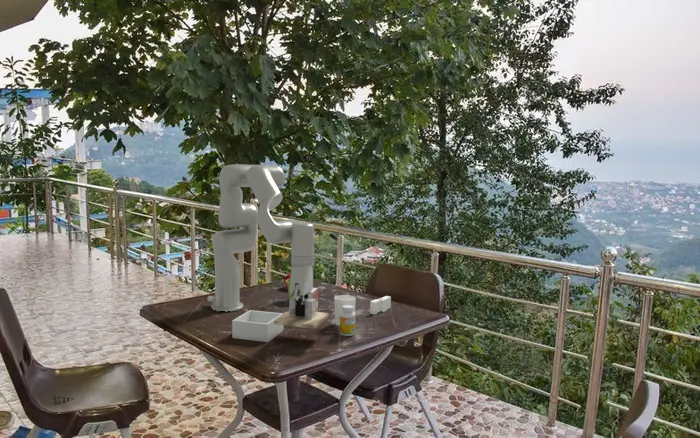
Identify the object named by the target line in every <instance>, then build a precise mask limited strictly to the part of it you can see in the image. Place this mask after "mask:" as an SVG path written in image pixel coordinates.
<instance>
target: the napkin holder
mask: <svg viewBox="0 0 700 438" xmlns="http://www.w3.org/2000/svg"><path fill="white" fill-rule="evenodd" d="M391 298H392V297H391V296H389V295H385V296H383V297H379V298H378V299H376V298H375V299H373V300H371V301H370V304H369V305H370V306H369V307H370V308H369V309H370V310H369V313H370V314H371V315H377V314H379V313H384V312H387V311H388V310H390V309H391V307H392V305H391V303H392V299H391ZM389 308H390V309H389ZM387 309H388V310H387ZM380 311H382V312H380ZM378 312H379V313H378Z"/></svg>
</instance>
